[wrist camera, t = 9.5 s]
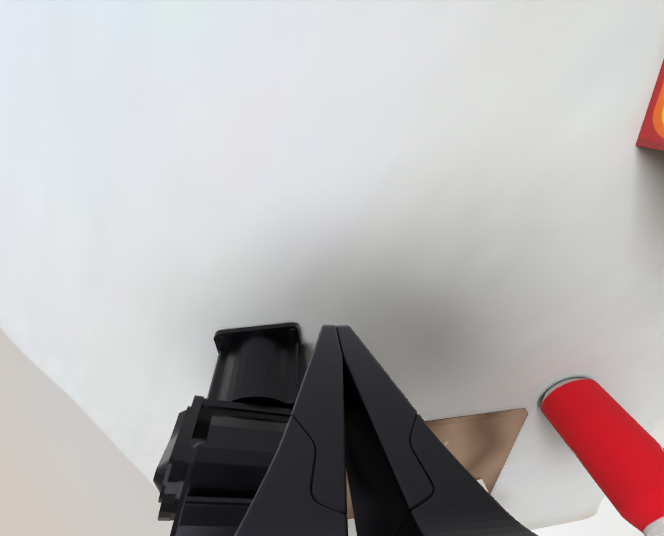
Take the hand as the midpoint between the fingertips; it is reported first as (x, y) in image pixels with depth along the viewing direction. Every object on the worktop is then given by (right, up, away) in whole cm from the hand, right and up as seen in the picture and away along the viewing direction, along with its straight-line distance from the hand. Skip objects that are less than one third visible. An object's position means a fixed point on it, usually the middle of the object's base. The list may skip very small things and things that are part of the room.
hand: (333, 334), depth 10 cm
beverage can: (+25, -11, +25) cm, 37 cm away
